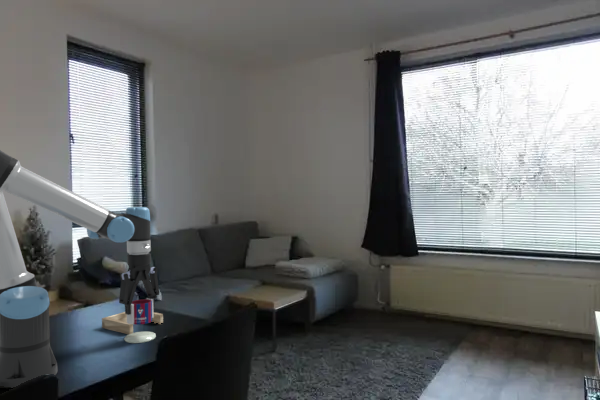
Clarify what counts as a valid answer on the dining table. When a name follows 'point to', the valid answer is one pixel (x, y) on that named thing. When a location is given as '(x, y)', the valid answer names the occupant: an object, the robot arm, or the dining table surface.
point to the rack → (125, 322)
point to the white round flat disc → (140, 337)
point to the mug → (142, 311)
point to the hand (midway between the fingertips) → (140, 320)
